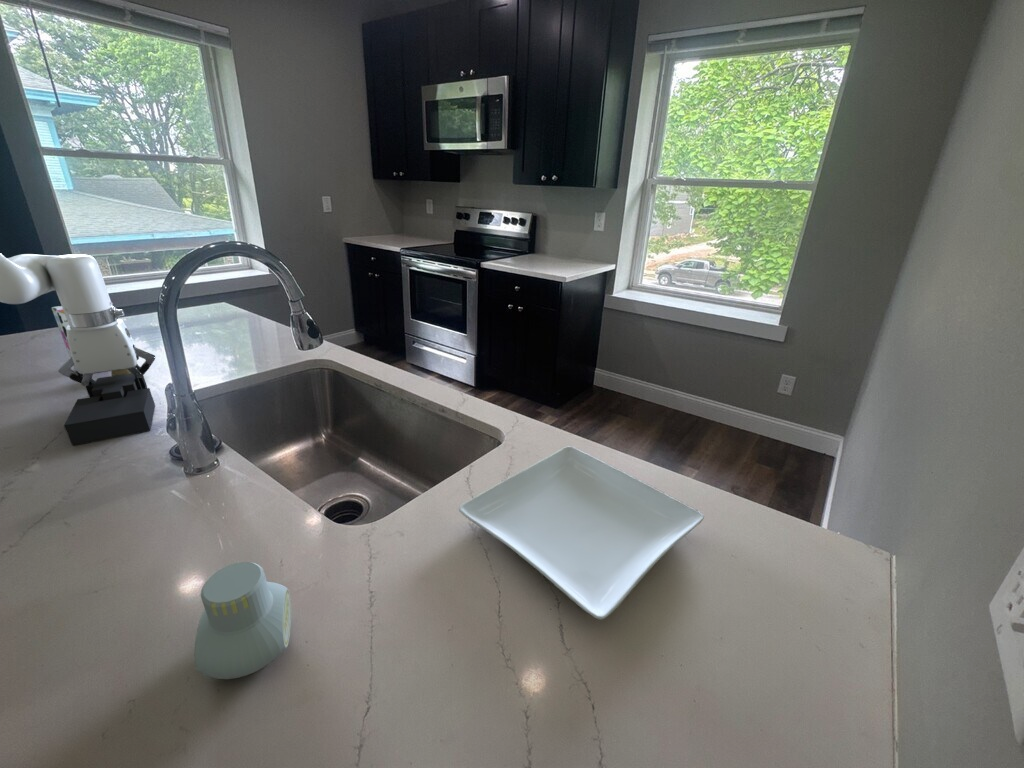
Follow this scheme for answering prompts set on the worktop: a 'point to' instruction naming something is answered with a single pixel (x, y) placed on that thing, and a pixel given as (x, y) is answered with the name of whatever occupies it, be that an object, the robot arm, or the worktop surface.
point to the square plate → (583, 525)
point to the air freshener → (241, 622)
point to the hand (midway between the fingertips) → (120, 395)
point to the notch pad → (110, 417)
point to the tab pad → (114, 386)
